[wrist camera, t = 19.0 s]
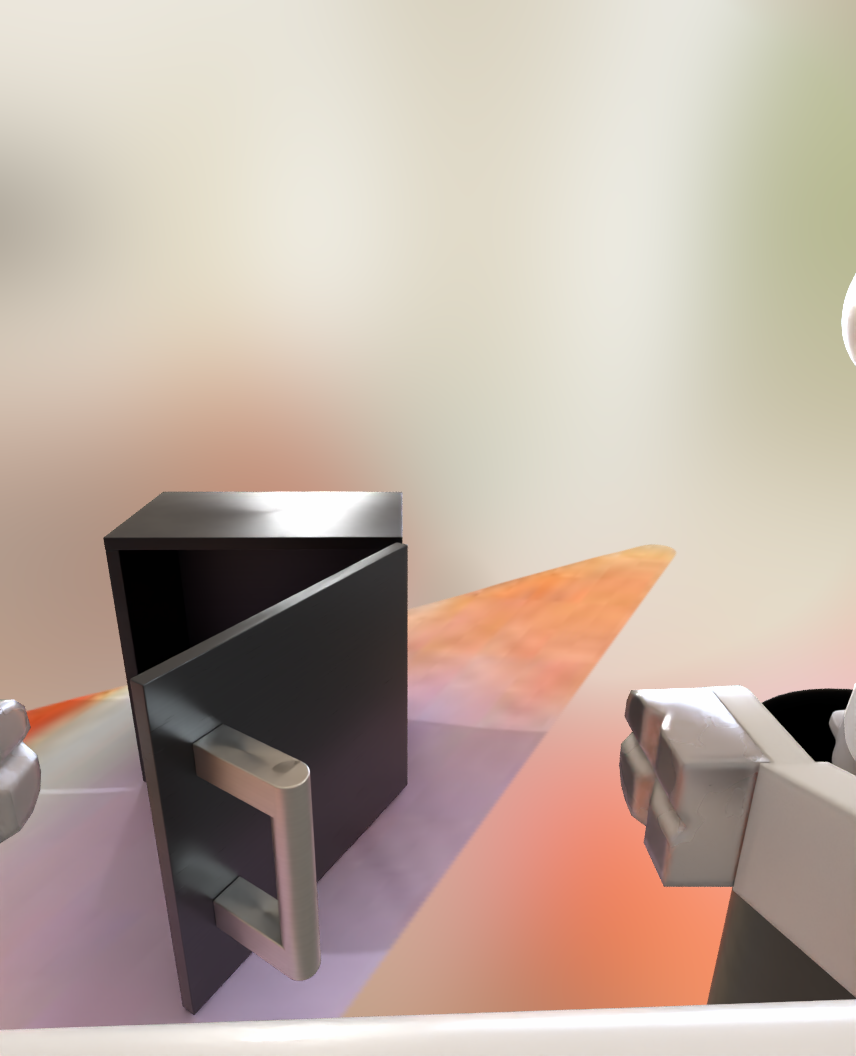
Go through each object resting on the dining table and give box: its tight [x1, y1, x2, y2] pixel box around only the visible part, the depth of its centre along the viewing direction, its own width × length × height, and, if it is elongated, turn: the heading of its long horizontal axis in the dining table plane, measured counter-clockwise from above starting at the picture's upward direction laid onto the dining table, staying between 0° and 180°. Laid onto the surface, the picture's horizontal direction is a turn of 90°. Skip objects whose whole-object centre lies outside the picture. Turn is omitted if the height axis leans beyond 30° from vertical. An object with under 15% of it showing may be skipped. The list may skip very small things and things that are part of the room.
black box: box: [104, 492, 402, 781], centre depth 46 cm, size 10×18×18 cm, turn 92°
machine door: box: [130, 542, 408, 1015], centre depth 32 cm, size 6×18×17 cm, turn 149°
